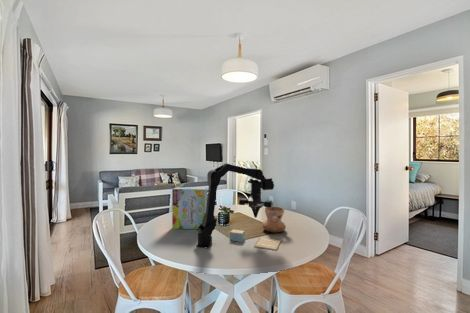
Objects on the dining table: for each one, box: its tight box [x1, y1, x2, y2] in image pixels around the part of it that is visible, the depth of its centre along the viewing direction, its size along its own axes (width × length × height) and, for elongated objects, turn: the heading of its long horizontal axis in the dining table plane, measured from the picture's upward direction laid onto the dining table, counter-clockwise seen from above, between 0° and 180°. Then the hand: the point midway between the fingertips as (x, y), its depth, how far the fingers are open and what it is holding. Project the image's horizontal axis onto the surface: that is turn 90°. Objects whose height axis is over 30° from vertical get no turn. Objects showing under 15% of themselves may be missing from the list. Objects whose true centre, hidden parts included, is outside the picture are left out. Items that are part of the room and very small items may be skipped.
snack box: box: [171, 186, 208, 230], centre depth 158 cm, size 22×9×26 cm, turn 84°
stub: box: [229, 228, 246, 243], centre depth 138 cm, size 7×5×5 cm
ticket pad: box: [253, 237, 282, 251], centre depth 132 cm, size 12×13×1 cm
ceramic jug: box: [262, 205, 287, 234], centre depth 155 cm, size 18×14×14 cm
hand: (255, 217), depth 140 cm, fingers closed
